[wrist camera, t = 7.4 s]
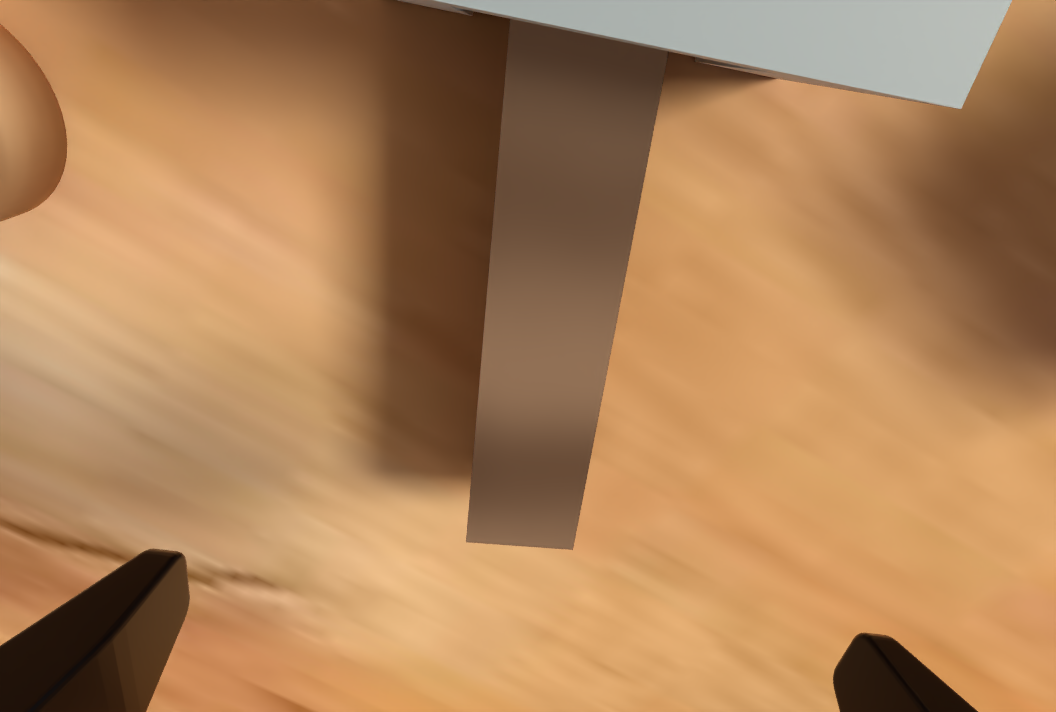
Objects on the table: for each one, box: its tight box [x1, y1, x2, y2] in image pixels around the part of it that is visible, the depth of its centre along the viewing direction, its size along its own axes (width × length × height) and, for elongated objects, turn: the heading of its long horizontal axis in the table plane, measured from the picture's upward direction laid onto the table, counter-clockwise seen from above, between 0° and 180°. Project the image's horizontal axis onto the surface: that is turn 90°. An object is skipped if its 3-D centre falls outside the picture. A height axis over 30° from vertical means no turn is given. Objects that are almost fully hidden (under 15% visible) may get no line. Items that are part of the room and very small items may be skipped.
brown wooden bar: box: [466, 19, 669, 550], centre depth 14 cm, size 18×3×4 cm, turn 174°
